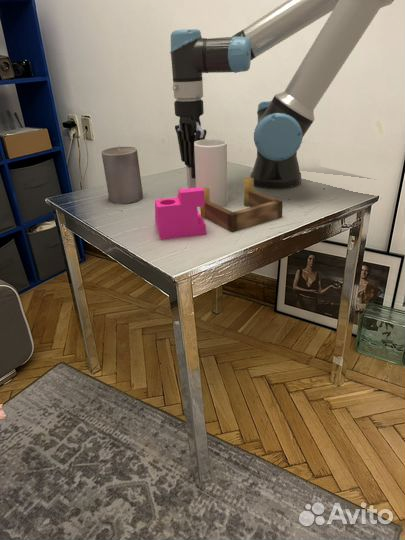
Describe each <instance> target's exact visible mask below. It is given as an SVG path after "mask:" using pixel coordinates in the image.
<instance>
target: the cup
mask: <svg viewBox="0 0 405 540" xmlns="http://www.w3.org/2000/svg"><path fill="white" fill-rule="evenodd" d="M227 143H228V142H227V140H226V139H221V138H220V139H219V138H205V139H202V140H198V141H195V142H194V152H195V175H196V188H198V187H202V188H209V192H210V202H212V203H214V204H217V205H219V206H221V207H224V206H225V207H226V205H227V204H228V144H227Z"/></svg>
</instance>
